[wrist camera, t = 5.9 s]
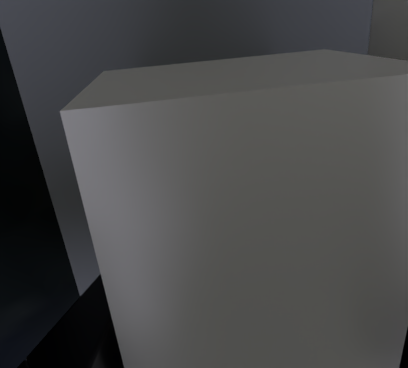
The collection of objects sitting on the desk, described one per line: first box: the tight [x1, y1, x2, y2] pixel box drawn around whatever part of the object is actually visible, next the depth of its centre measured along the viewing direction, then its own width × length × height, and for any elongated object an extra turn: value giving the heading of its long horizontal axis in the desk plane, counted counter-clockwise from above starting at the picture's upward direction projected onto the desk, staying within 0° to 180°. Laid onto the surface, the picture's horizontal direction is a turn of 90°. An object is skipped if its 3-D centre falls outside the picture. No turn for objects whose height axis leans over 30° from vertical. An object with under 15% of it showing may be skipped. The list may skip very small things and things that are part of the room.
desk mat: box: [0, 0, 373, 296], centre depth 13 cm, size 13×11×1 cm
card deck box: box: [60, 49, 408, 368], centre depth 8 cm, size 5×9×4 cm, turn 4°
